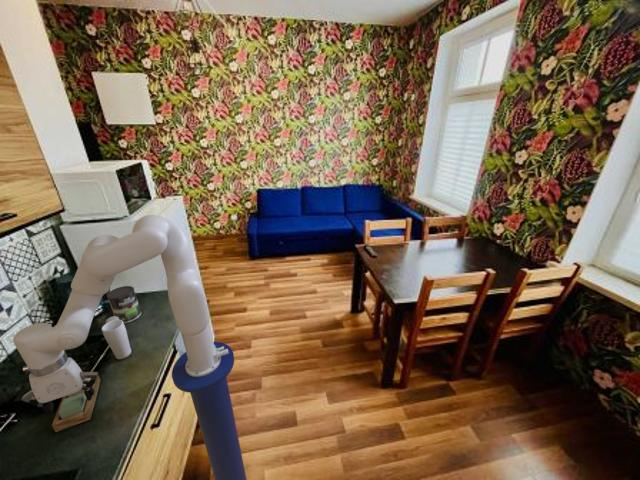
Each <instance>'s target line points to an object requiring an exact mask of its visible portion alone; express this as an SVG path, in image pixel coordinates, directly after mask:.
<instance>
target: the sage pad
mask: <svg viewBox="0 0 640 480" xmlns="http://www.w3.org/2000/svg"><path fill="white" fill-rule="evenodd" d="M86 402H87V398H86V396H85V394H84V393H81V394H78V395H75V396H72V397H69V398H66V399H64V400H63V403H62V405H61V408H60V411H59V415H60V416H61V418H62V419H65V418H67V417H70V416H73V415H76V414H78V413H81V412H84V409H85V406H86Z"/></svg>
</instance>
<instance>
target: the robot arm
mask: <svg viewBox="0 0 640 480" xmlns="http://www.w3.org/2000/svg"><path fill="white" fill-rule="evenodd" d="M158 256H160V257H161V261H162V264H163V268H164V271H165V275H166V287H167V288H166V290H167V296H168V301H169V304H170V308H171V312H172V315H173V318H174V322H175V325H176V328H177V330H178V331H179V332H180V335H181V338H182V342H183V346H184V350H185V352H186V353H187V357H188V361H187V362H186V366H185V368H186V372H187V373H188V374H189V375H190V376H193V377H201V376H205V375H207V374H209V373H211V372H213V371H214V370H215V369H216V368H217V367H218V366H219V364H220V362H221V356H223V355H226V354H229V352H228V349H225V350H224V346H223V347H220V348H218V349H217V348H215V345H214V342H215V341H214V338H213V334H212V328H211V323H210V313H209V308H208V303H207V300H206V295H205V290H204V287H203V283H202V281H201V278H200V275H199V273H198V271H197V267H196V264H195V261H194V256H193V253H192V250H191V246H190V243H189V240H188V238H187V236H186V234H185V232H184V231H183V230H182V228H180V227H179V226H178V225H177V224H176V222H173V221H172V220H170V219H168V218H166V217H163V216H160V215H154V214H150V215H145V216H142V217H140V218H139V219H137V221H135V223H134V224H133V227H132V231H131V233H129V234H126V235H124V236H121V237H118V236H115V235H112V234H101V235H97V236H96V237H93V238H92V239H91V240H90V241H89V242H88V244H87V246H86V247H85V250H83V253H82V255H81V259H80V262H79V265H78V267H77V270H76V272H75V274H74V277H73V279H72V281H71V284H70V288H71V292H70V294H69V297H68V300H67V302H66V303H65V307H64V308H63V311H62V313H61V315H60V317H59V319H58V321H57V323H56V324H55V325H54V326H53V325H52V324H50V323H48V322H38V323H37V322H36V323H33V324H30V325H28V326H25V327H24V328H22V329H20V330H19V331H17V332H16V333H15V334H14V336H13V339H12V342H13V344H14V346H15V348H16V349H17V351H18V353H19V355H20V356H21V358H22V359H23V361H24V363H25V366H23V367H22V371H23V372H29V375H28V379H29V384H30V390H29V391H28V392H26V393H25V394H23V395H22V397H21V401H23V402H25V403H28V404H29V405H32V406H36V407H37V408H41V409H42V411H43V412H44V413H45V414H46V415H47V416H50V415H52V413H53V410H54V408H55V404H54V403H53V401H55V400H57V399H58V400H59V399H62V398H63V397H64V396H67V395H70V394H73V393H75V392H78V391H79V390H85V391H84V394H85V396H86V398H87V400H88V401H90V400H91V399H92V396H93V395H94V389H93V387H92V386H93V384H94V383H95V381H96V378H97V375H98V376H99V372H98V371H83V370H82V369H81V367H80V366H79V365H78V363H77V362H76V361H75V360H74V359H73V358H72V357H68V355H67V353H66V350H67V351H68V350H72V349H75V348H78V347H80V346H82V345H83V344H84V343H85V342H86V340H87V338H88V336H89V333H90V329H91V326H92V322H93V319H94V316H95V314H96V312H97V309H98V307H99V305H100V303H101V300H102V298H103V296H104V295H107V294H108V293H109V292H110V290H111V287H112V285H113V282H114V280H115V278H116V276H117V275H118V274H120V273H123V272H126V271H128V270H130V269H132V268H134V267H137V266H139V265H141V264H143V263H146V262H148V261H150V260H152V259H155V258H157V257H158ZM222 350H223V351H222ZM219 351H220V352H219ZM85 378H91V380H90V381H89V380H85ZM83 384H85V385H86V386H85V385H83Z"/></svg>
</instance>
